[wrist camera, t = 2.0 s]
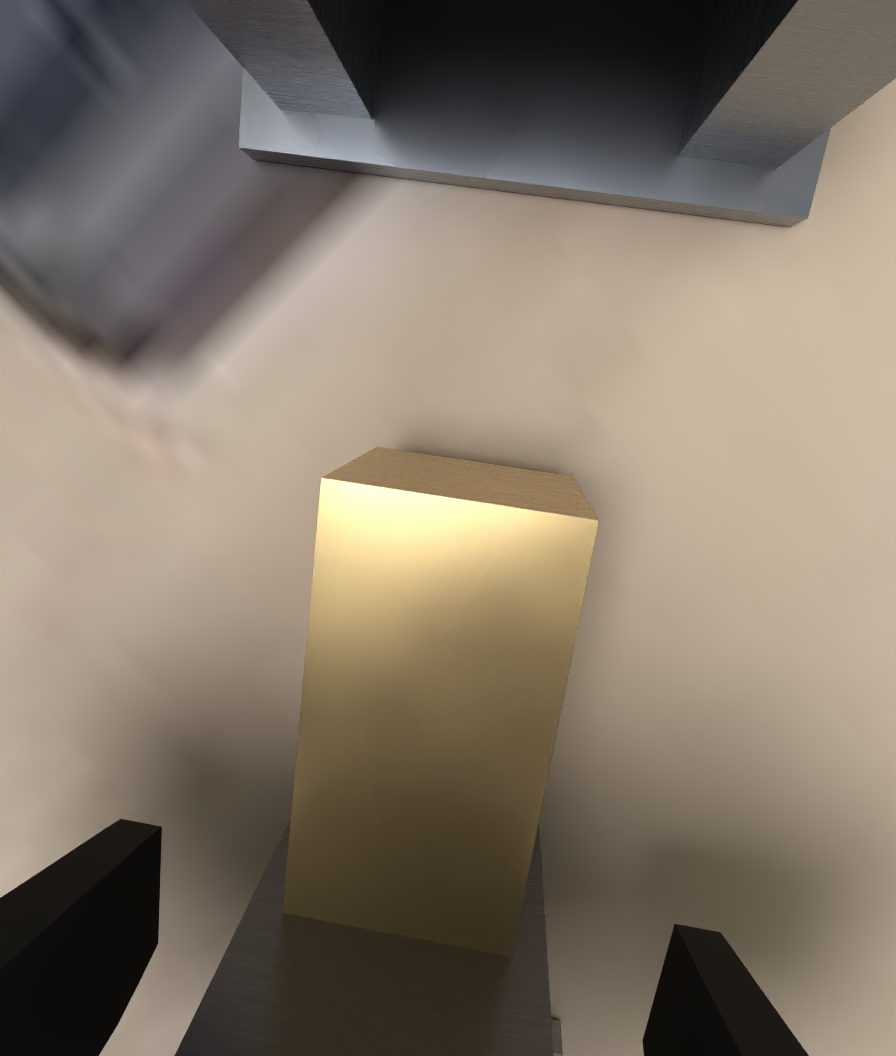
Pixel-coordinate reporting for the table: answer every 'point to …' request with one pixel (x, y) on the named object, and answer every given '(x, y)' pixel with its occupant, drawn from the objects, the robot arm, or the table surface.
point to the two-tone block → (416, 773)
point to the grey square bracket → (563, 93)
